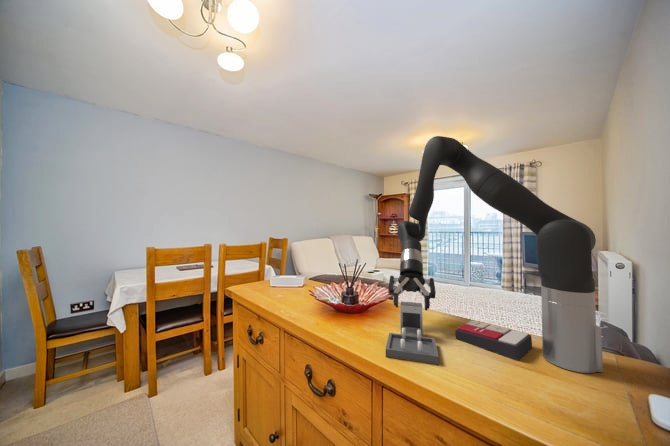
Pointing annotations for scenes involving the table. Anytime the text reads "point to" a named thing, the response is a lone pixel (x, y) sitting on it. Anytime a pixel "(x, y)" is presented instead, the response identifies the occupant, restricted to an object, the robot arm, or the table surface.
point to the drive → (411, 317)
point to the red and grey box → (495, 339)
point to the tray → (412, 347)
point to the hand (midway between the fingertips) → (411, 307)
